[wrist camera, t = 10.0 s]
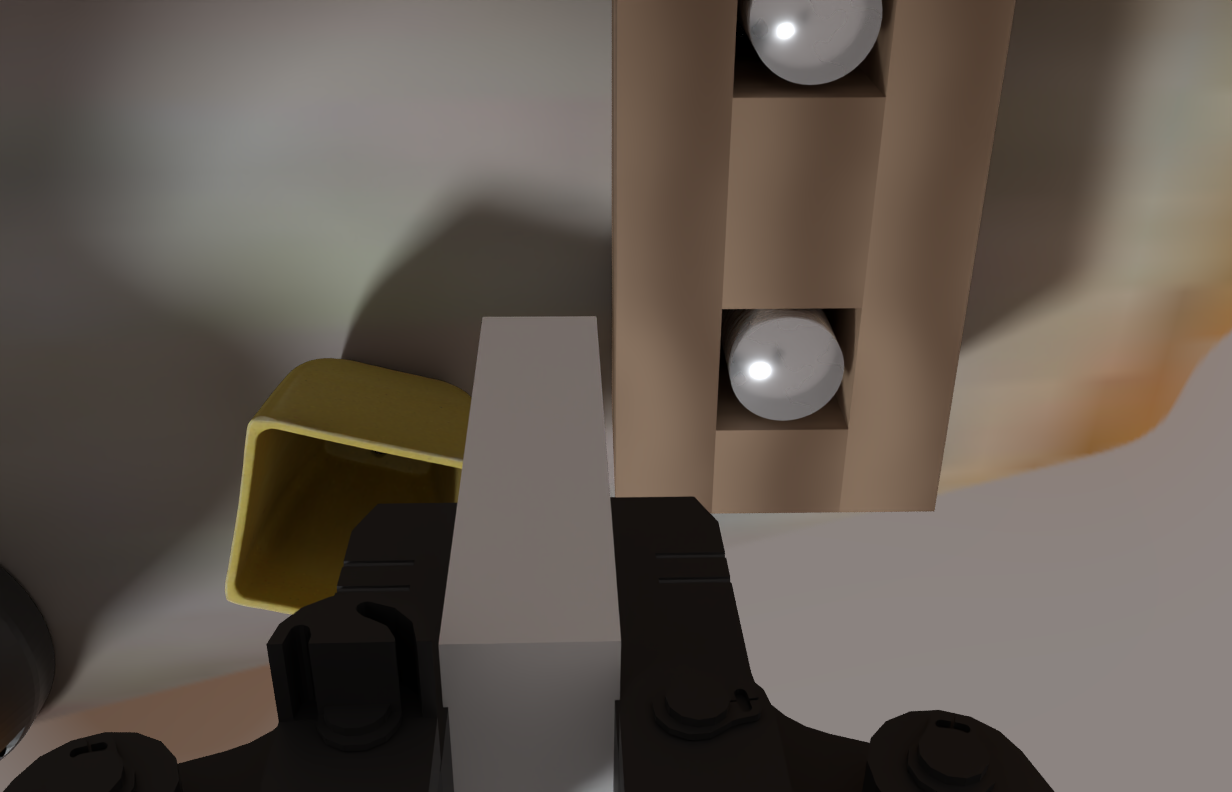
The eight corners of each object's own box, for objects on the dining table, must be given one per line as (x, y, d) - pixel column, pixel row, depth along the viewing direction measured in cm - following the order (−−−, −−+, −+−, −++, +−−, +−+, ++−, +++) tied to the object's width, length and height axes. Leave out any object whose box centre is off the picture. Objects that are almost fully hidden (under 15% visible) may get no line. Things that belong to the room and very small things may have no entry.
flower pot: (463, 519, 55) (442, 647, 47) (275, 479, 53) (220, 604, 46) (504, 356, 51) (489, 466, 43) (302, 309, 49) (248, 414, 42)
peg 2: (705, 316, 50) (727, 421, 42) (709, 227, 48) (733, 319, 40) (799, 315, 50) (838, 420, 42) (806, 226, 48) (849, 319, 40)
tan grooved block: (611, 398, 52) (616, 514, 44) (611, -213, 40) (618, -206, 32) (881, 396, 52) (934, 511, 44) (958, -212, 40) (1048, -205, 33)
